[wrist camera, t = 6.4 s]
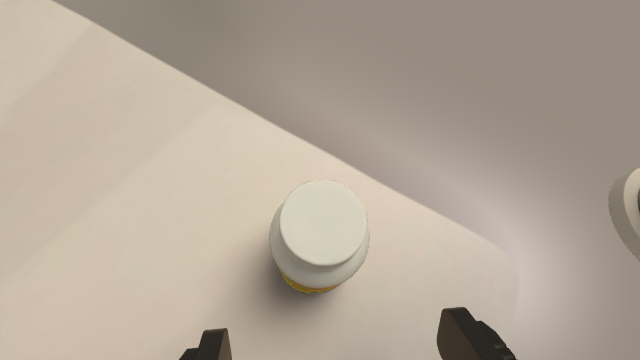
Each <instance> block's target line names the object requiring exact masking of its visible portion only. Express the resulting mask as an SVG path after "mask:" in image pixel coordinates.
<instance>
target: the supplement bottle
mask: <svg viewBox="0 0 640 360" xmlns="http://www.w3.org/2000/svg"><path fill="white" fill-rule="evenodd" d="M269 240H270V249H271V253H272V255H273V258H274V260H275V262H276V264H277V267H278V269H279V271H280V273H281V275H282V277H283V278H284V280H285V281H286V282H287V283H288V284H289V285H290V286H292V287H293V288H295V289H296V290H298V291H301V292H304V293H310V294H316V293H322V292H326V291H329V290H331V289H333V288H335V287H336V286H338V285H340V284H341V283H343V282H344V281H346V280H348V279H349V278H350V277H352V276H353V275H354V274H355V273H356V272H357V271H358V269H359V268H360V267H361V265H362V264H363V262H364V260H365V258H366V255H367V252H368V248H369V229H368V221H367V214H366V210H365V208H364V206H363V203H362V202H361V200H360V199H359V197H358V196H357V195H356V194H355V193H354V192H353V191H352V190H351V189H349V188H348V187H347V186H345V185H343V184H341V183H339V182H336V181H332V180H313V181H309V182H306V183H304V184H302V185H300V186H298V187H297V188H296V189H294V190H293V191H292V192H291V193H290V194H289V196H288V197H287V198H286V200H285V201H284V203H283V204H282V205H281V206H280V207H279V209H278V210H277V212H276V213H275V215H274V217H273V220H272V223H271V227H270V234H269Z"/></svg>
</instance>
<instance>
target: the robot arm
mask: <svg viewBox="0 0 640 360" xmlns="http://www.w3.org/2000/svg"><path fill="white" fill-rule="evenodd" d="M638 207H639V211H640V190H639V193H638ZM437 346H438V350H439V353H440V355H441V357H442V359H443V360H516V358H515V356H514V354H513V353H512V352H511V351H510V349H509V348H507V347H506V344H505V343H504V342H503V340H502V339H501V338H500V337H499V335H498V334H497V333H496V332H495V331H494V330H493V329H491V328H490V327H489V326H488V325H486V324H485V323H484V322H482V321H476V320H475V319H474V318H473V316H472V315H471V314H470V312H469V311H468V310H467V309H466V308H465V307H456V308H445V309H443V310H442V313H441V318H440V323H439V329H438V334H437ZM179 360H232V355H231V349H230V342H229V336H228V330H227V328H223V329H212V330H205V331H204V332H203V334H202V338H201V341H200V344H199V348H192V349H187V350H186V351H185V352H184V354H183V355H182V356H181V358H180V359H179Z"/></svg>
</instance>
